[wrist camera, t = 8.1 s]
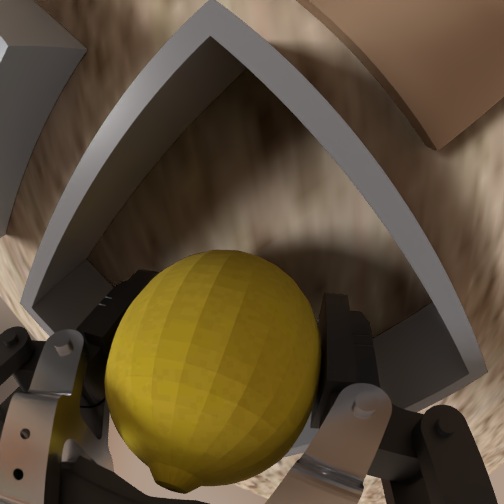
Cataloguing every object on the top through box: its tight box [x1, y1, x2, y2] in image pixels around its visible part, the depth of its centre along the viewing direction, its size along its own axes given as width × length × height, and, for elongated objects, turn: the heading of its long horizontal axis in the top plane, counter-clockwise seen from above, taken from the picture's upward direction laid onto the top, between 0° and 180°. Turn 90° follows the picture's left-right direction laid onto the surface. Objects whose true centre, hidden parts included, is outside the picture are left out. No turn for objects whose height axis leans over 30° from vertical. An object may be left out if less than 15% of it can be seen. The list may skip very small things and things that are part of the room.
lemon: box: [104, 250, 322, 494], centre depth 8 cm, size 6×6×8 cm
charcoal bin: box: [20, 0, 488, 457], centre depth 10 cm, size 12×12×4 cm
